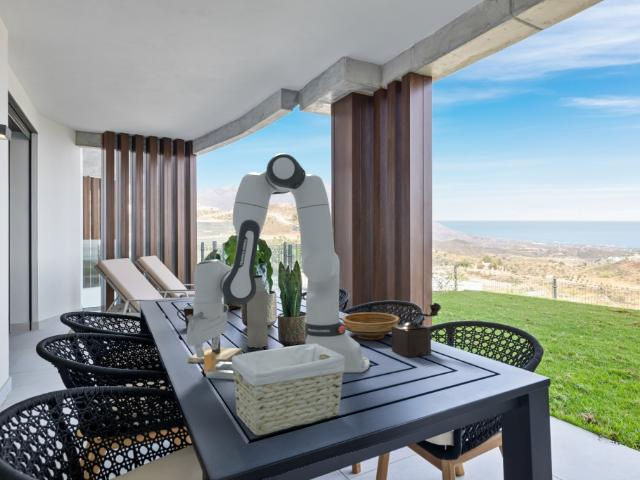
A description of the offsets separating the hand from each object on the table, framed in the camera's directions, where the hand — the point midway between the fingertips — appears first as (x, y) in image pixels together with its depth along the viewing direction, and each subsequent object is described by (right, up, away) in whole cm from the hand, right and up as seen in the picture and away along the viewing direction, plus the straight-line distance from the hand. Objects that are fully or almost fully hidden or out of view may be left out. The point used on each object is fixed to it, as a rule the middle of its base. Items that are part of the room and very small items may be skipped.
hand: (207, 353), depth 133 cm
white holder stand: (+6, -6, -1) cm, 8 cm away
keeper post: (-1, -6, +17) cm, 18 cm away
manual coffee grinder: (+72, -5, +19) cm, 74 cm away
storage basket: (+29, -6, -33) cm, 44 cm away
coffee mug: (-26, -6, +67) cm, 72 cm away
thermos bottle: (+11, -6, +32) cm, 35 cm away
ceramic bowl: (+58, -5, +44) cm, 73 cm away
